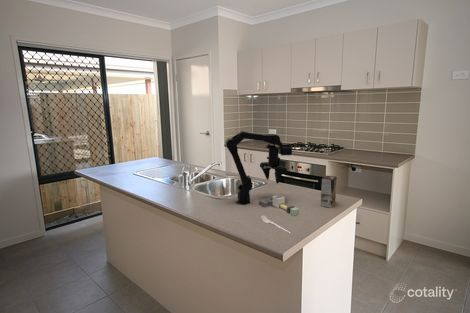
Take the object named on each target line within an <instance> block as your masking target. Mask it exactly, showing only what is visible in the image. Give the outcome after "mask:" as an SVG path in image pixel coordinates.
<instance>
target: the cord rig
mask: <svg viewBox="0 0 470 313" xmlns="http://www.w3.org/2000/svg"><path fill="white" fill-rule="evenodd" d="M285 203H287V198H286V197H285ZM258 205H259V206H262V207H263V208H266V207H272V206H273V197H268V198H265V199H261V200H258ZM279 208H281V209H283V210H284V211H286V213H287V214H290V215H292V216H297V215H300V213H299V212H300V208H298V207H296V206H294V205H291V206H287V205H283V204H279Z"/></svg>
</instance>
